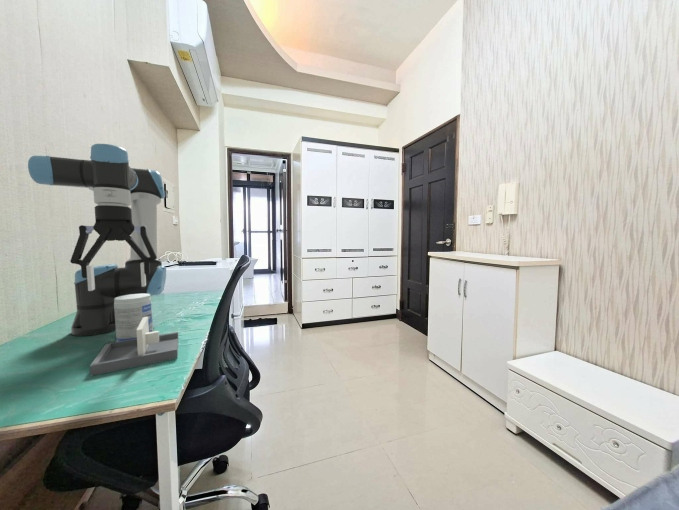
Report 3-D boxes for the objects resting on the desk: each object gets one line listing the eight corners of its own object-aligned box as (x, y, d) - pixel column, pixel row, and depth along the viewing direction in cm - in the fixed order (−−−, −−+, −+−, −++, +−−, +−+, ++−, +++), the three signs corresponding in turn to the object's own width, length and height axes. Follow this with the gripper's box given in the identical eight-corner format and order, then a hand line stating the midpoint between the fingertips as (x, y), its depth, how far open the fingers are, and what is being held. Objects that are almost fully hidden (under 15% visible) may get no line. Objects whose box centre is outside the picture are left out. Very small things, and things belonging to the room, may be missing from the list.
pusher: (144, 342, 82) (143, 317, 81) (161, 339, 84) (159, 314, 83) (138, 359, 70) (136, 330, 70) (157, 356, 72) (155, 327, 72)
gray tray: (107, 351, 78) (106, 343, 78) (178, 339, 87) (178, 331, 87) (90, 375, 65) (89, 365, 64) (177, 358, 74) (176, 349, 73)
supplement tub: (153, 342, 85) (150, 296, 84) (114, 349, 80) (111, 301, 79) (153, 333, 93) (151, 291, 92) (118, 339, 88) (116, 295, 87)
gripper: (46, 201, 62) (54, 295, 64) (163, 206, 74) (168, 285, 75) (59, 205, 68) (66, 289, 70) (165, 209, 80) (169, 281, 82)
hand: (118, 287), depth 73 cm, fingers open, 10 cm apart
